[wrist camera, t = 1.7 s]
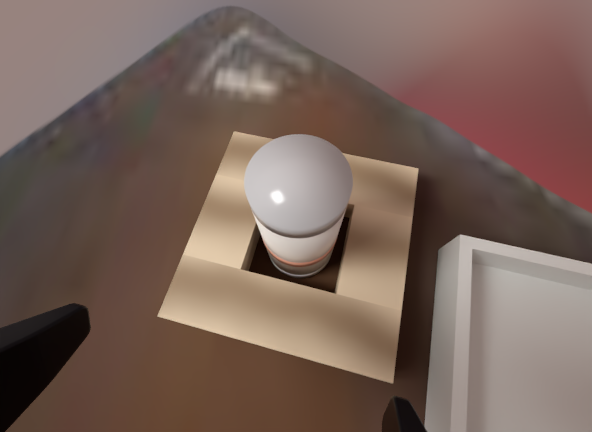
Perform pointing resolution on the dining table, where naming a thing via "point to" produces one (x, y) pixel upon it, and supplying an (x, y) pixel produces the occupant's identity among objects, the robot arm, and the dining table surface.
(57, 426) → the dining table surface
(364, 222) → the socket block
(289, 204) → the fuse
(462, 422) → the tray
